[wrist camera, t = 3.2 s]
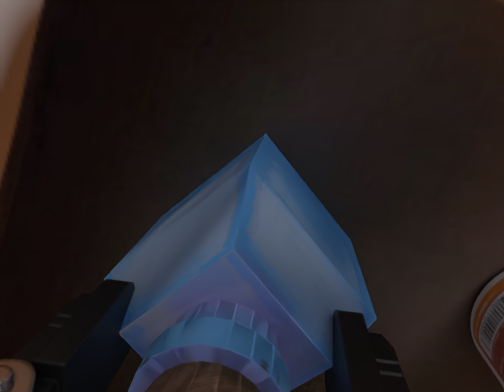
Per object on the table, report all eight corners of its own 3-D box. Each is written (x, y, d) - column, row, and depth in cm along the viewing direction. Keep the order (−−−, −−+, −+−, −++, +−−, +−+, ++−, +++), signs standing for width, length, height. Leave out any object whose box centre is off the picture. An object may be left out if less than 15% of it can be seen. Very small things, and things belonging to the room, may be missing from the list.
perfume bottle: (246, 309, 20) (181, 622, 9) (162, 215, 19) (-36, 428, 8) (350, 240, 18) (440, 511, 7) (265, 133, 17) (209, 247, 6)
